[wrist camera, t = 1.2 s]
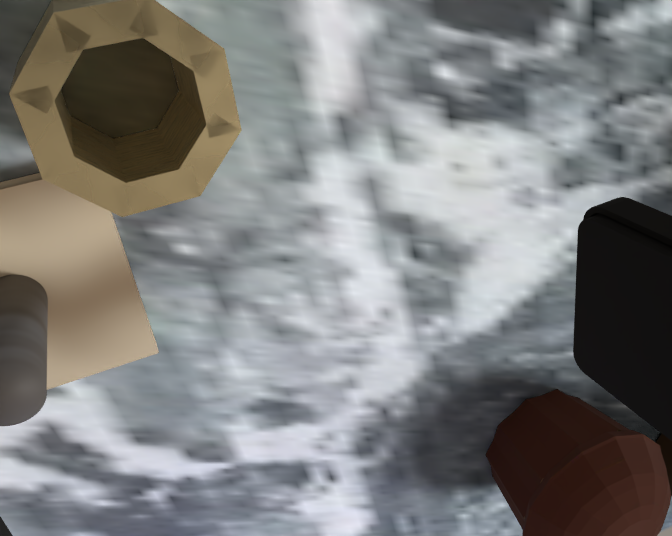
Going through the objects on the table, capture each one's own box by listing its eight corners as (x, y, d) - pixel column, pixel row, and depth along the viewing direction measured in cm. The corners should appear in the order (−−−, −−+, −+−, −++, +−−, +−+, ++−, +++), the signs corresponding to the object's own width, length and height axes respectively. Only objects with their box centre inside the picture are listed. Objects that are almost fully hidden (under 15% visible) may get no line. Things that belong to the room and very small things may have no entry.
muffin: (618, 376, 49) (732, 465, 41) (564, 486, 53) (658, 587, 45) (498, 377, 44) (602, 479, 35) (448, 499, 48) (531, 617, 39)
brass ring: (-4, 6, 24) (-18, 25, 19) (180, -25, 26) (210, -16, 21) (61, 179, 27) (63, 232, 22) (218, 140, 29) (252, 181, 24)
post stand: (-167, 222, 25) (-246, 326, 18) (93, 159, 27) (106, 230, 21) (-54, 410, 30) (-85, 544, 23) (155, 342, 32) (182, 445, 26)
